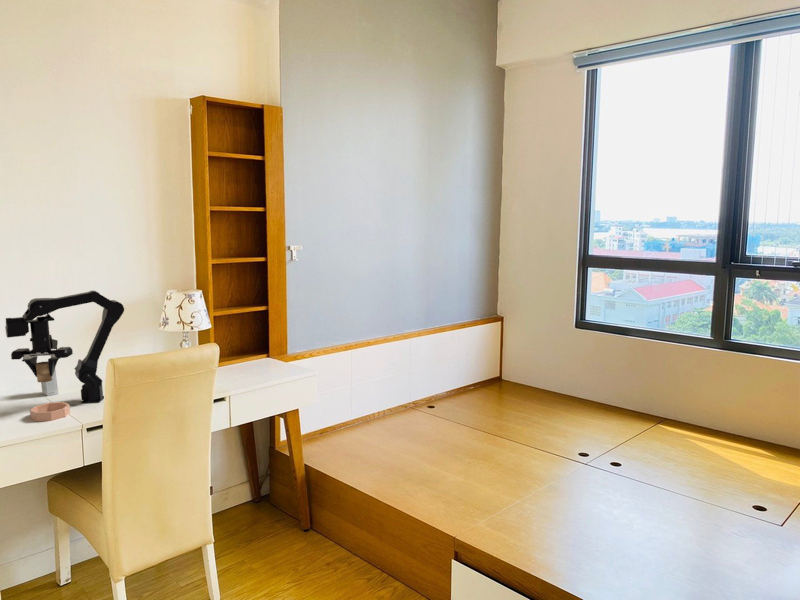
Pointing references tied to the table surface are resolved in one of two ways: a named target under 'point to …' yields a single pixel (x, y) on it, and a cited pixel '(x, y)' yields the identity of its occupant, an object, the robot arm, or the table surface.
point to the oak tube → (43, 372)
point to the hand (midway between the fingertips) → (44, 376)
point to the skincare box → (50, 386)
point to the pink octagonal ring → (44, 410)
